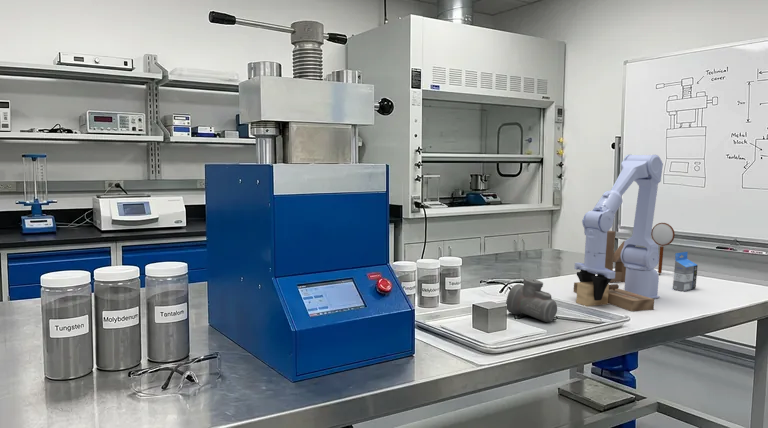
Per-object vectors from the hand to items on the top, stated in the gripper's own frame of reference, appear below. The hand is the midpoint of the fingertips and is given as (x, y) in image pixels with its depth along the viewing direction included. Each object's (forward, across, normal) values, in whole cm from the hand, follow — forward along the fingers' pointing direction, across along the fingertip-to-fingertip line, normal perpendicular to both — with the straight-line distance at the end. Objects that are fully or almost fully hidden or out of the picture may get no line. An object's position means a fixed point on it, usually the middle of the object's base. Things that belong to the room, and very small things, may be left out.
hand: (592, 298), depth 164 cm
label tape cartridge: (+2, -8, +46) cm, 47 cm away
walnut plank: (+2, -2, +9) cm, 9 cm away
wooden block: (+2, -24, +31) cm, 39 cm away
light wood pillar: (+2, 0, +2) cm, 3 cm away
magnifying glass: (+2, -29, +58) cm, 65 cm away
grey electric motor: (+2, +8, -27) cm, 28 cm away
